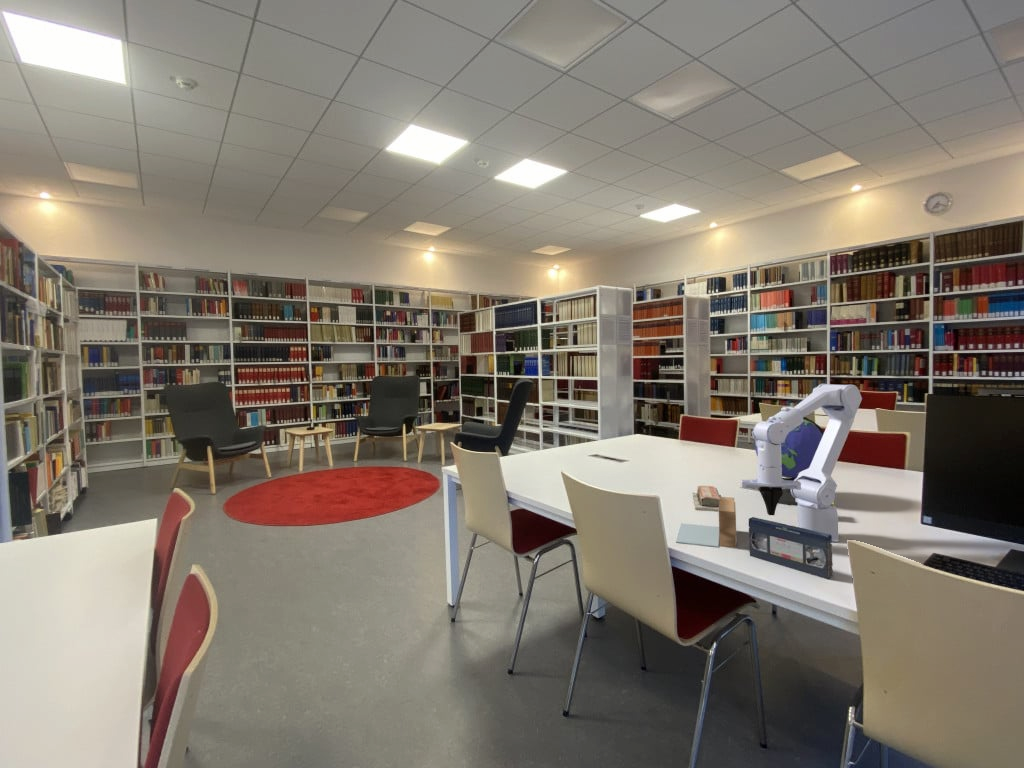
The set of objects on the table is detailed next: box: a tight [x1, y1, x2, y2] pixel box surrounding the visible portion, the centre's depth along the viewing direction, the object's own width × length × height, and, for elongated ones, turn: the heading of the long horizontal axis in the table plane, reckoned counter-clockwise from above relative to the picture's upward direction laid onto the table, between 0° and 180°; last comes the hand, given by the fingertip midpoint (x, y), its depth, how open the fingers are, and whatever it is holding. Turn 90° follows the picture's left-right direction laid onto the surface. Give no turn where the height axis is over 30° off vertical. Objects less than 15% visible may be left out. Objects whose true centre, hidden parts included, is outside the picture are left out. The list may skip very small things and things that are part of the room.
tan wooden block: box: [718, 496, 737, 549], centre depth 135 cm, size 4×14×10 cm, turn 155°
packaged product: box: [691, 485, 722, 512], centre depth 168 cm, size 18×5×10 cm
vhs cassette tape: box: [748, 516, 834, 580], centre depth 116 cm, size 18×3×10 cm, turn 35°
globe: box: [753, 416, 825, 507], centre depth 169 cm, size 22×22×30 cm
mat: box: [675, 522, 720, 548], centre depth 138 cm, size 11×16×1 cm
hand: (770, 514), depth 130 cm, fingers closed
